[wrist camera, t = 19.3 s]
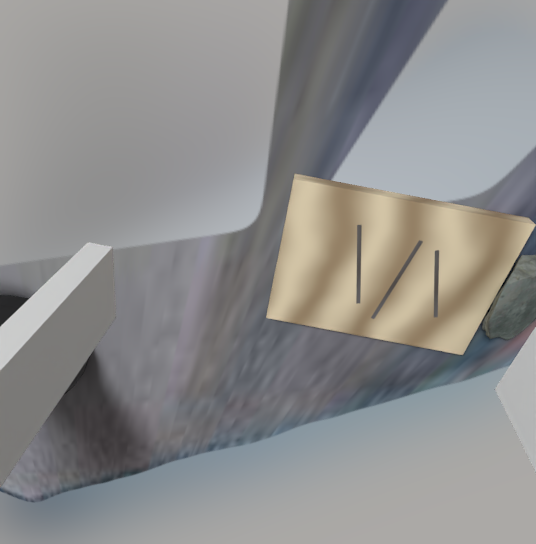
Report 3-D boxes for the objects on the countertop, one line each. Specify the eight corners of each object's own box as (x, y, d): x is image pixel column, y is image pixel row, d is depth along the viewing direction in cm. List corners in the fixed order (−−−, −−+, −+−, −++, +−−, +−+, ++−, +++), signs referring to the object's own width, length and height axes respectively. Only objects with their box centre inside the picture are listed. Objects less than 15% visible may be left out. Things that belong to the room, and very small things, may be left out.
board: (267, 309, 46) (266, 317, 45) (294, 173, 38) (293, 179, 36) (458, 345, 46) (462, 355, 45) (528, 218, 38) (535, 224, 36)
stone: (448, 353, 42) (501, 320, 47) (484, 378, 39) (536, 341, 44) (486, 265, 36) (541, 238, 41) (531, 288, 33) (584, 257, 38)
